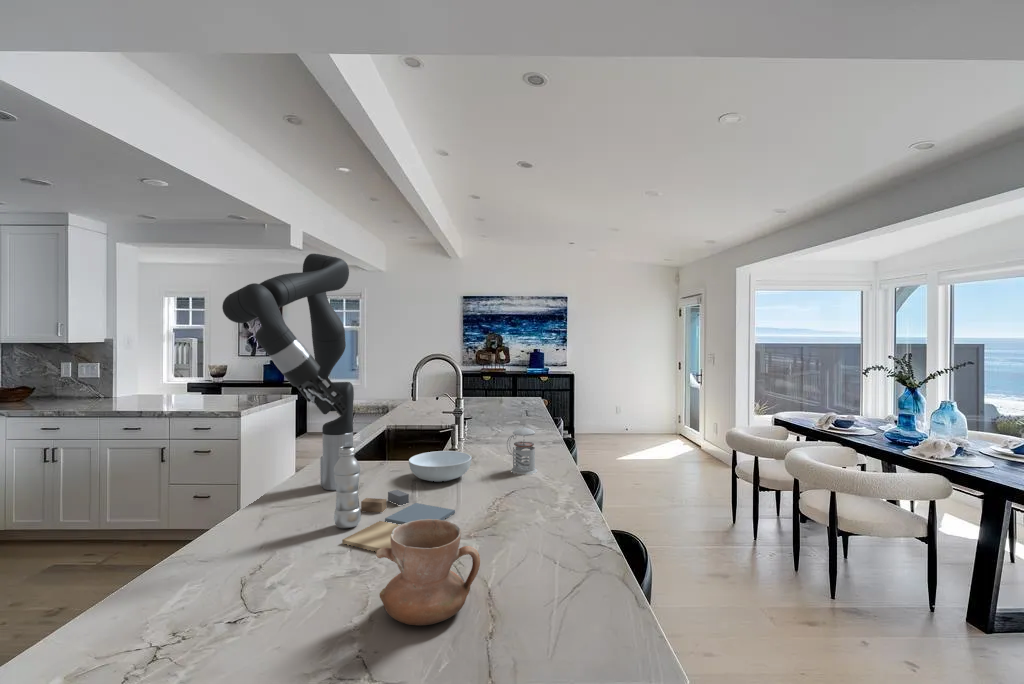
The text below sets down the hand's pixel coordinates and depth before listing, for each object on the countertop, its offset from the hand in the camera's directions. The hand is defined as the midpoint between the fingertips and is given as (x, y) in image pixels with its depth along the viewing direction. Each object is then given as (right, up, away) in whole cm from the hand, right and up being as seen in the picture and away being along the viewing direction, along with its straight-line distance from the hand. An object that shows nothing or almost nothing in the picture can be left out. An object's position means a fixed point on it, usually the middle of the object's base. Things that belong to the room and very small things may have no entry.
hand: (336, 412), depth 124 cm
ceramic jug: (+29, -30, -36) cm, 55 cm away
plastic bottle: (+2, -29, +3) cm, 29 cm away
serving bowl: (+19, -29, +46) cm, 57 cm away
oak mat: (+13, -29, -5) cm, 32 cm away
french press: (+47, -28, +54) cm, 77 cm away
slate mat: (+19, -29, +9) cm, 36 cm away
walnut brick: (+5, -29, +15) cm, 33 cm away
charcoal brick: (+11, -29, +21) cm, 37 cm away
